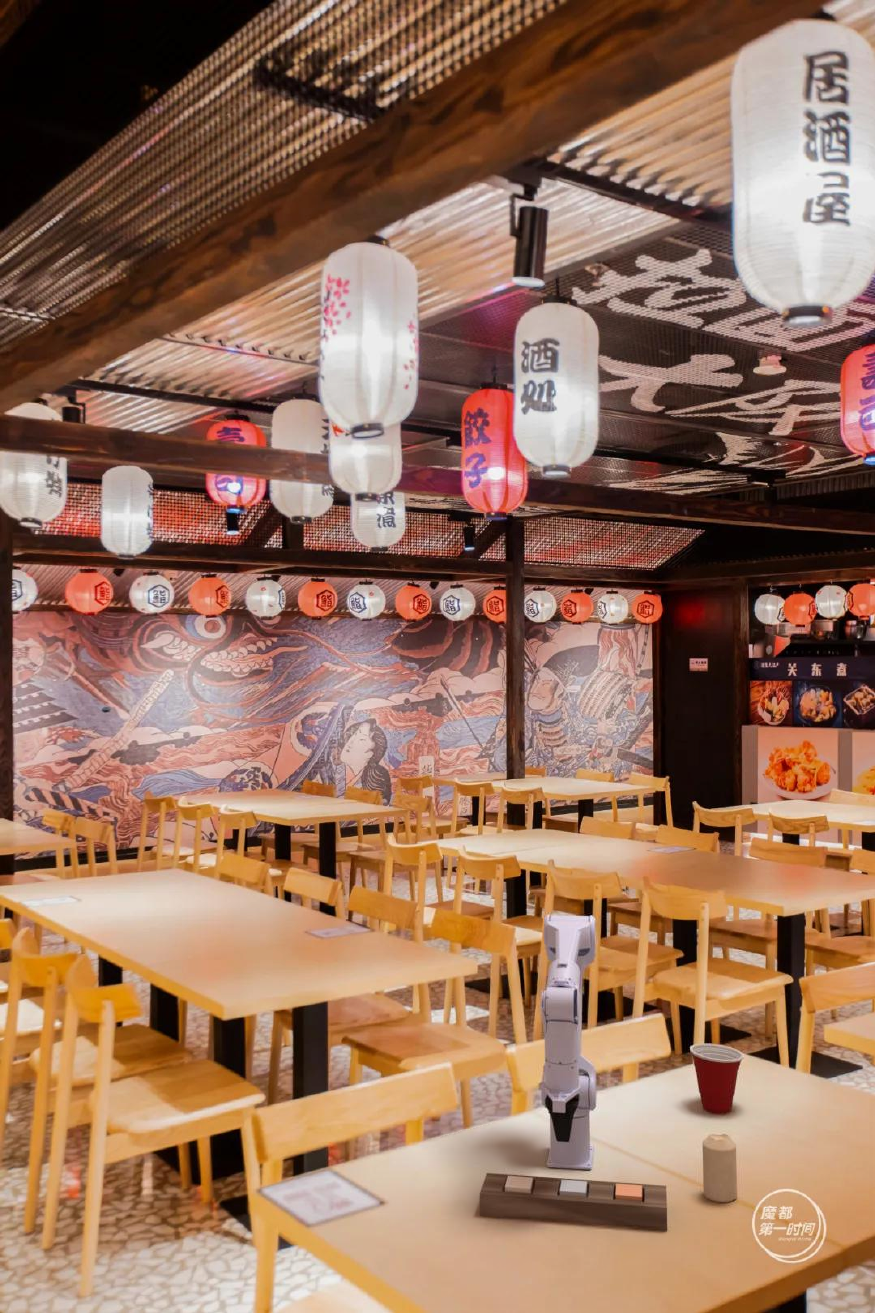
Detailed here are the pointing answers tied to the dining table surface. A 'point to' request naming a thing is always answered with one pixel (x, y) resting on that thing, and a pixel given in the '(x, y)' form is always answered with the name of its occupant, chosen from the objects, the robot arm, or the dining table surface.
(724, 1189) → the candle
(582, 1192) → the light gray cube
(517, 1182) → the beige cube
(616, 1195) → the orange cube
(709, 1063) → the plastic cup
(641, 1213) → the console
